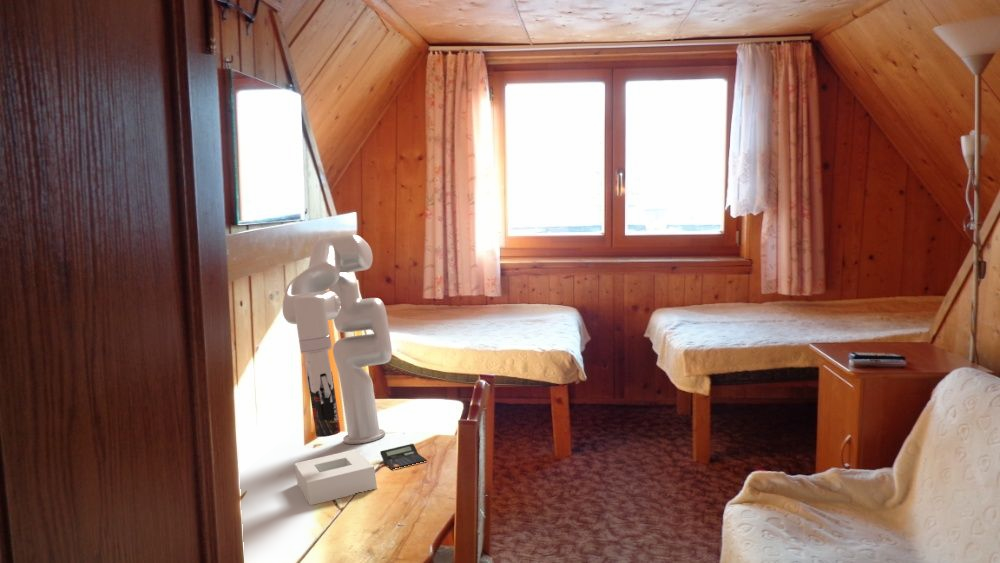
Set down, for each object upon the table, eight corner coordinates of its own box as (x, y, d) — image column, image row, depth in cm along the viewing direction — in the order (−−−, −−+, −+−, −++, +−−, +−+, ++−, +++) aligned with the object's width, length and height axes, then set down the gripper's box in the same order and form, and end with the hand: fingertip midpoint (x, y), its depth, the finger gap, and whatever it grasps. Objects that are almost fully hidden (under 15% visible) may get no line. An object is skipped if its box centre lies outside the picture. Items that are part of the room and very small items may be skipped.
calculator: (393, 471, 201) (391, 460, 201) (381, 461, 212) (379, 450, 212) (427, 462, 205) (425, 451, 205) (414, 453, 215) (412, 443, 215)
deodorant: (337, 435, 189) (328, 374, 189) (313, 438, 190) (304, 377, 189) (342, 428, 195) (334, 370, 194) (319, 431, 196) (311, 373, 195)
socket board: (297, 484, 200) (294, 463, 199) (358, 469, 206) (355, 449, 205) (310, 505, 181) (306, 482, 181) (377, 488, 187) (374, 466, 187)
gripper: (294, 344, 198) (305, 414, 199) (305, 350, 182) (316, 426, 183) (324, 339, 201) (334, 408, 202) (337, 345, 185) (348, 419, 186)
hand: (325, 416), depth 192 cm, fingers closed on deodorant, 5 cm apart
